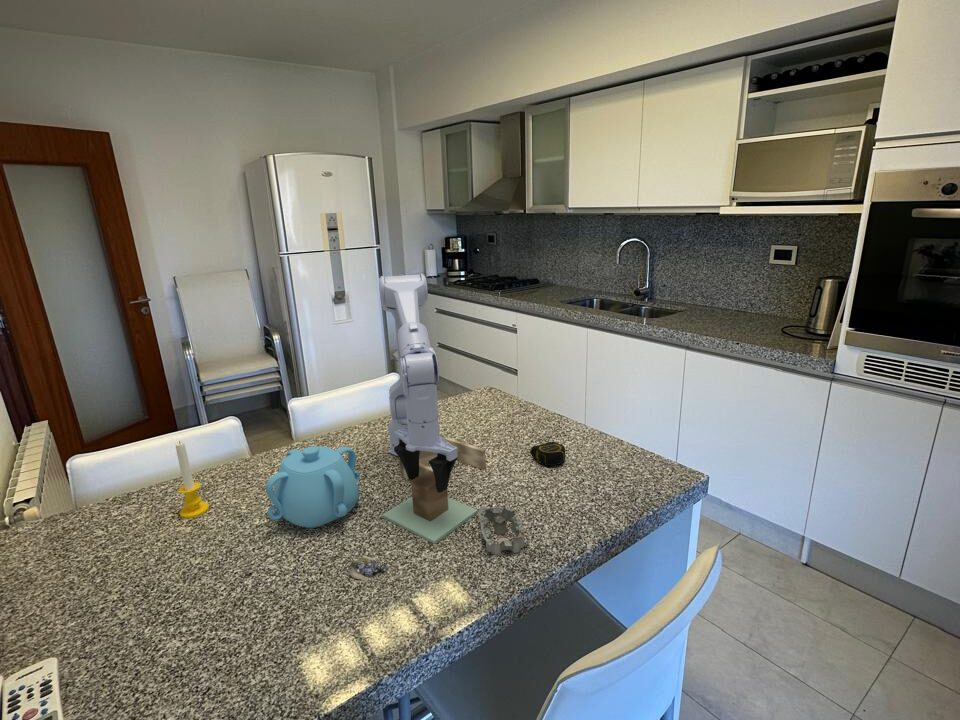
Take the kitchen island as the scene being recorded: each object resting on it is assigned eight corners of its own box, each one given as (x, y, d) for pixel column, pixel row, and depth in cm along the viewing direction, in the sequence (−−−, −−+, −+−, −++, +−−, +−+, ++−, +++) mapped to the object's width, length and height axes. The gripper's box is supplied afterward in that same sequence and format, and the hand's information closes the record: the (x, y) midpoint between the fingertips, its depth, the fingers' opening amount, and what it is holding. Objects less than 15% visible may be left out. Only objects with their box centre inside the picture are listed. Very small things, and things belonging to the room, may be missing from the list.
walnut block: (413, 513, 98) (410, 480, 96) (432, 502, 101) (429, 470, 99) (430, 521, 95) (427, 488, 93) (448, 509, 99) (446, 477, 97)
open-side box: (401, 476, 113) (399, 458, 112) (444, 452, 123) (442, 435, 122) (443, 494, 105) (442, 474, 104) (485, 467, 115) (485, 449, 114)
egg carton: (526, 554, 86) (526, 534, 85) (483, 558, 86) (482, 537, 85) (517, 518, 96) (517, 500, 95) (479, 521, 96) (478, 503, 94)
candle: (213, 510, 103) (198, 439, 98) (185, 521, 99) (168, 449, 95) (203, 501, 106) (188, 432, 102) (176, 511, 103) (159, 441, 98)
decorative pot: (259, 535, 94) (247, 469, 90) (296, 489, 109) (287, 431, 106) (345, 537, 92) (336, 470, 89) (370, 490, 108) (364, 431, 104)
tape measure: (555, 452, 122) (555, 438, 121) (571, 464, 116) (571, 449, 115) (529, 458, 119) (529, 444, 118) (545, 471, 113) (544, 456, 112)
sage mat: (382, 517, 98) (382, 514, 98) (426, 490, 107) (426, 488, 107) (434, 544, 89) (434, 541, 89) (477, 512, 98) (477, 509, 98)
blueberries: (355, 557, 87) (353, 548, 87) (401, 556, 87) (400, 547, 87) (343, 585, 81) (342, 575, 80) (393, 584, 81) (392, 574, 80)
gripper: (379, 415, 94) (386, 481, 98) (436, 434, 85) (441, 505, 89) (407, 404, 99) (413, 466, 103) (463, 420, 90) (467, 488, 94)
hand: (427, 483), depth 96 cm, fingers open, 7 cm apart
